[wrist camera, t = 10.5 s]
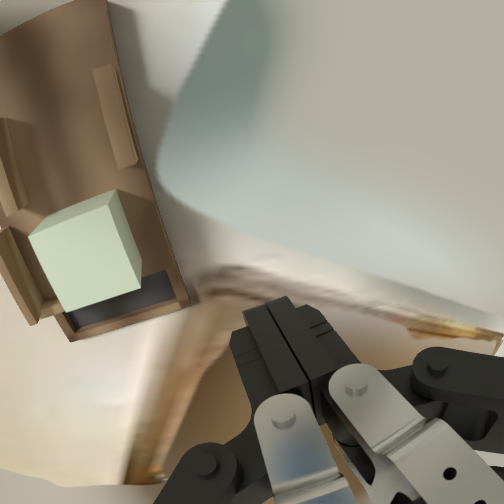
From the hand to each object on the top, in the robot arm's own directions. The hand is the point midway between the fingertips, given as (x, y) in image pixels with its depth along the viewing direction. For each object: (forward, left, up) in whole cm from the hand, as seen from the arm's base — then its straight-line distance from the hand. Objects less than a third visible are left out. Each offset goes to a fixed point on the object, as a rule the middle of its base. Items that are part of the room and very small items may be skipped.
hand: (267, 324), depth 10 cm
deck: (-10, +5, -18) cm, 21 cm away
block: (-9, 0, -15) cm, 18 cm away
